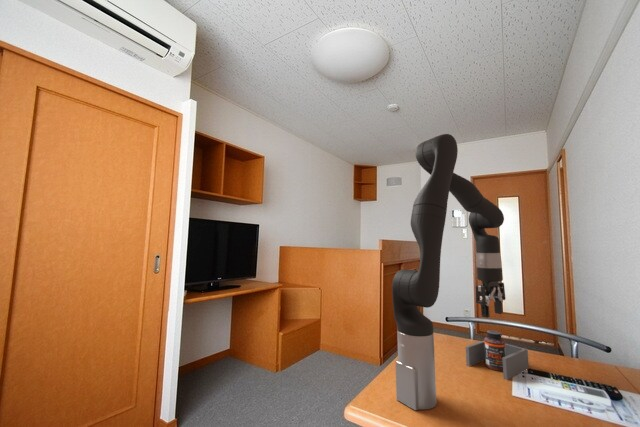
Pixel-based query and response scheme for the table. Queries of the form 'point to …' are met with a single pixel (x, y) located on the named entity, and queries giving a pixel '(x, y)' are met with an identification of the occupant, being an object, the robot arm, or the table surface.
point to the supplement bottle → (494, 350)
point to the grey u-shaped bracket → (511, 362)
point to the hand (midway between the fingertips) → (492, 315)
